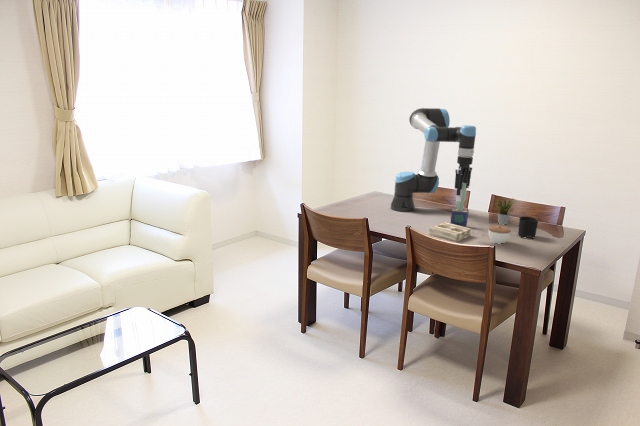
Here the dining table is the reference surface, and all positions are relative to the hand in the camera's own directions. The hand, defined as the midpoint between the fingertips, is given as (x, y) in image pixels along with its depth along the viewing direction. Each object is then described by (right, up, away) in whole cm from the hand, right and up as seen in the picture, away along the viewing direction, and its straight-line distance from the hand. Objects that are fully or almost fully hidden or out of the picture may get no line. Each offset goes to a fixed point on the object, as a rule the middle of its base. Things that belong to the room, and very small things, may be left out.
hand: (460, 200), depth 268 cm
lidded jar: (+19, -22, -1) cm, 29 cm away
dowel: (0, -5, +1) cm, 5 cm away
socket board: (-4, -19, +8) cm, 21 cm away
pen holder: (+39, -20, +11) cm, 45 cm away
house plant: (+35, -13, +34) cm, 51 cm away
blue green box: (+6, -14, +26) cm, 30 cm away
